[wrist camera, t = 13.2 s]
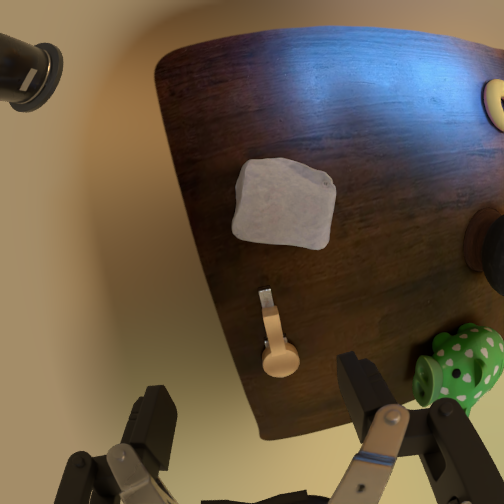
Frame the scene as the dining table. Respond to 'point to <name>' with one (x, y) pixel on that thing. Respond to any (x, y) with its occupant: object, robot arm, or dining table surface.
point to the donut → (495, 102)
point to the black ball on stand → (486, 246)
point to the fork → (267, 302)
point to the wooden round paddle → (277, 347)
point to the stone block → (283, 204)
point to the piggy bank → (460, 366)
